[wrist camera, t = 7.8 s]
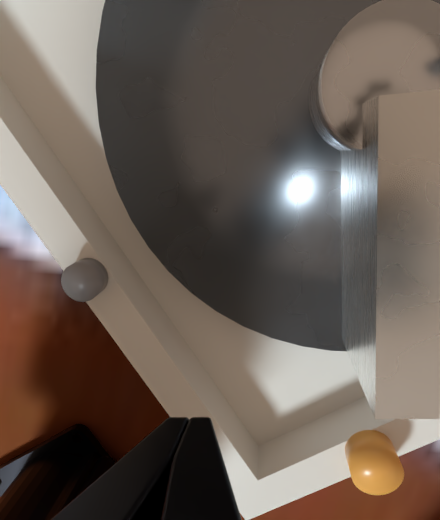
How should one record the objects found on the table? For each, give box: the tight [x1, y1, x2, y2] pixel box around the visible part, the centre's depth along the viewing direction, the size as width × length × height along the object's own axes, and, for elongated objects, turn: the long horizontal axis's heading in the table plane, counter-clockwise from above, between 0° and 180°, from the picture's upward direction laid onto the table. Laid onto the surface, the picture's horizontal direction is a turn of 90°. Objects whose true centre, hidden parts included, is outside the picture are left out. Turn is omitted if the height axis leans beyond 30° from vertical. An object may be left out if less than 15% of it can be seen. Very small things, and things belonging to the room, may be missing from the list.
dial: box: [96, 0, 440, 419], centre depth 11 cm, size 18×18×6 cm
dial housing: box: [0, 0, 440, 520], centre depth 13 cm, size 24×24×4 cm
